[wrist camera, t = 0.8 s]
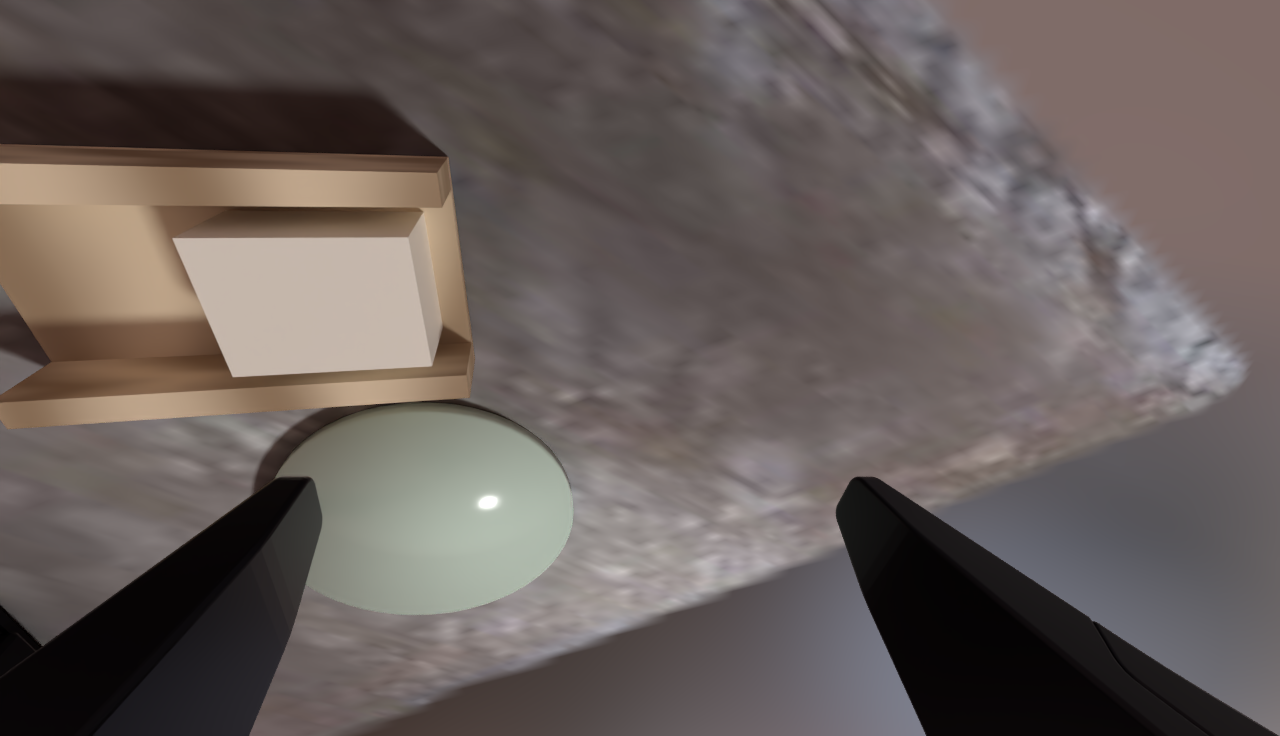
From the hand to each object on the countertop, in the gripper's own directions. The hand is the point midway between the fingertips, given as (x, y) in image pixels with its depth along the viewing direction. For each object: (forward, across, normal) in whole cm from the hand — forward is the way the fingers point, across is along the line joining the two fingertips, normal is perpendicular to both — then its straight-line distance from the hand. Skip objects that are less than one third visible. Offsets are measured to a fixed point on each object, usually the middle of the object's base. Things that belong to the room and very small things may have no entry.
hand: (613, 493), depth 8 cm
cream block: (+12, +8, +2) cm, 15 cm away
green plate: (+13, +6, +15) cm, 20 cm away
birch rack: (+13, +11, +2) cm, 17 cm away
